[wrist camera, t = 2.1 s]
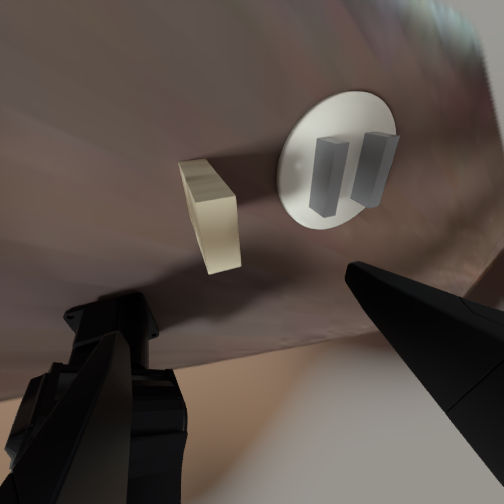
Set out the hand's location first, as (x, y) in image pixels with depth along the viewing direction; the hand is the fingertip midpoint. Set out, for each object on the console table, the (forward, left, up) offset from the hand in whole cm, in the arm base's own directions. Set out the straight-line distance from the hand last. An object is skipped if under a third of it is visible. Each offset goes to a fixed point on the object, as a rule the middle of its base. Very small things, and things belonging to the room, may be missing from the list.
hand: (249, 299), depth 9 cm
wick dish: (0, -13, -13) cm, 18 cm away
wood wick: (0, 0, -13) cm, 13 cm away
